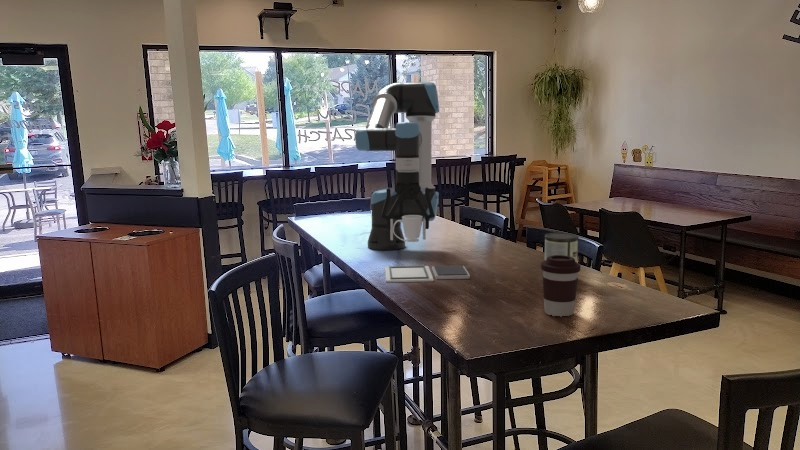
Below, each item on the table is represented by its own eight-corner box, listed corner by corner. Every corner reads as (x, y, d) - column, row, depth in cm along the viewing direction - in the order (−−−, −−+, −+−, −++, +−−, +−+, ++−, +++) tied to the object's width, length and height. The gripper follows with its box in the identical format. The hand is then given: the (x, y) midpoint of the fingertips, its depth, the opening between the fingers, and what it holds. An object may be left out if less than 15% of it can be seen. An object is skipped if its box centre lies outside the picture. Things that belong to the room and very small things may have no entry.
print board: (384, 268, 207) (384, 265, 207) (428, 267, 208) (428, 264, 208) (386, 282, 190) (386, 279, 189) (433, 281, 190) (433, 278, 190)
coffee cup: (534, 308, 163) (536, 254, 160) (570, 306, 163) (572, 252, 161) (546, 320, 153) (548, 262, 150) (584, 318, 154) (586, 261, 151)
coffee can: (545, 273, 199) (546, 231, 196) (577, 275, 195) (579, 233, 193) (541, 281, 189) (543, 237, 187) (575, 284, 186) (577, 239, 183)
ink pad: (431, 269, 206) (431, 265, 205) (463, 268, 206) (463, 264, 206) (435, 279, 193) (435, 275, 193) (470, 278, 193) (470, 274, 193)
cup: (425, 242, 194) (425, 217, 193) (394, 243, 192) (394, 219, 191) (420, 238, 201) (420, 214, 200) (391, 239, 199) (390, 215, 198)
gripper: (372, 172, 189) (373, 242, 192) (443, 171, 190) (443, 240, 193) (372, 170, 196) (373, 237, 200) (441, 169, 197) (440, 236, 201)
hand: (407, 239), depth 197 cm, fingers closed on cup, 10 cm apart
